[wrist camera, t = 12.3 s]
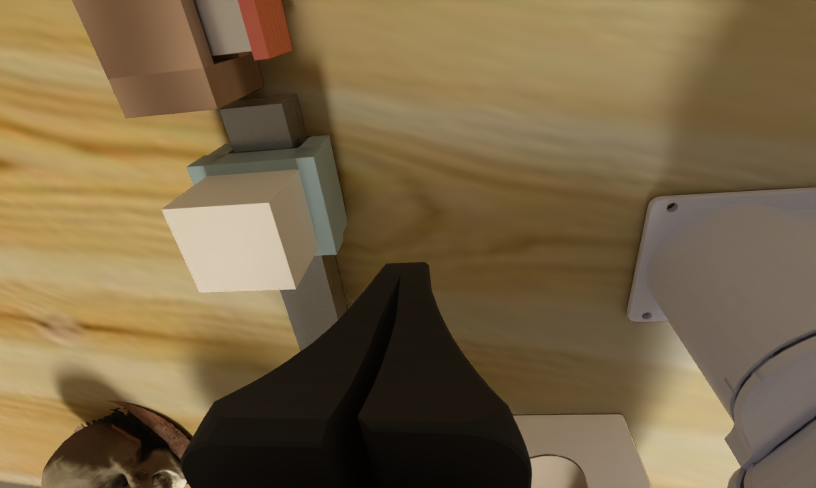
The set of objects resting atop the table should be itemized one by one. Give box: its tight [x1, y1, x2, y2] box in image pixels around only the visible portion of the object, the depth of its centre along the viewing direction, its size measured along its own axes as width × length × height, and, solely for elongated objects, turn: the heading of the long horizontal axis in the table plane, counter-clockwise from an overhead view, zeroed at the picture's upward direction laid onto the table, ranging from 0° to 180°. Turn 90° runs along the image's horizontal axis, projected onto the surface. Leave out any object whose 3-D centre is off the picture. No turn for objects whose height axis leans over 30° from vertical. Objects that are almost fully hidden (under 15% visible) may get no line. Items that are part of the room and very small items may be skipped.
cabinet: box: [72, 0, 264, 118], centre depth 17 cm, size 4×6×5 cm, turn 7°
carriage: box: [161, 135, 348, 292], centre depth 19 cm, size 6×5×7 cm
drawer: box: [193, 0, 293, 60], centre depth 16 cm, size 6×3×3 cm, turn 97°
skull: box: [42, 401, 191, 488], centre depth 37 cm, size 12×10×10 cm
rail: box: [219, 94, 348, 351], centre depth 24 cm, size 3×17×2 cm, turn 7°
